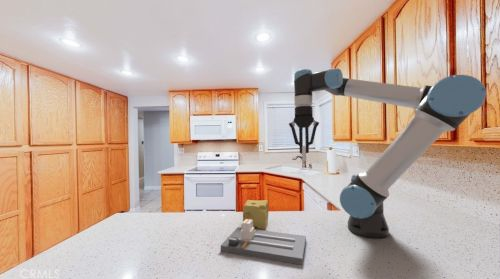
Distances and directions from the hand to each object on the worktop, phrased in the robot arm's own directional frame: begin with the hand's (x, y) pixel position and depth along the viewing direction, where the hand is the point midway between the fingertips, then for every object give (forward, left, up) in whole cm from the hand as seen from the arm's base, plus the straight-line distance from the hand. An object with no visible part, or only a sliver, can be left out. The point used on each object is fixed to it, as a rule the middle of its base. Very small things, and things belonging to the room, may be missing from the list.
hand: (304, 160), depth 92 cm
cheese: (+22, +2, -30) cm, 37 cm away
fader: (+20, +20, -27) cm, 39 cm away
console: (+13, +20, -29) cm, 38 cm away
